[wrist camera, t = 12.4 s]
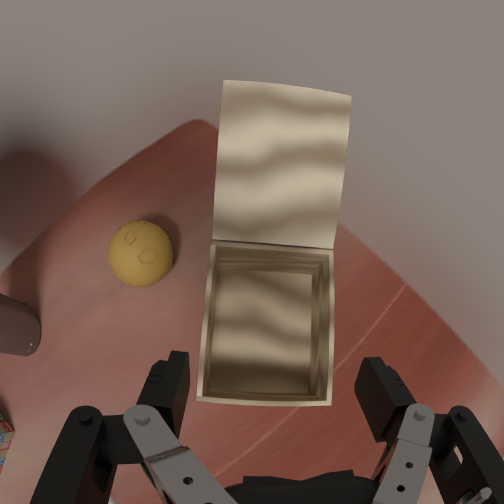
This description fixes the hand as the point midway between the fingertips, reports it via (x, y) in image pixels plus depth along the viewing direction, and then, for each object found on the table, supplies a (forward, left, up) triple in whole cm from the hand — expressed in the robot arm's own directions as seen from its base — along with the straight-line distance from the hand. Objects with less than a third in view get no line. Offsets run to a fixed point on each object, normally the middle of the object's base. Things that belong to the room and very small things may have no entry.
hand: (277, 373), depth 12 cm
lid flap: (-15, +18, -15) cm, 27 cm away
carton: (-2, +5, -32) cm, 32 cm away
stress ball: (-22, -2, -32) cm, 39 cm away
